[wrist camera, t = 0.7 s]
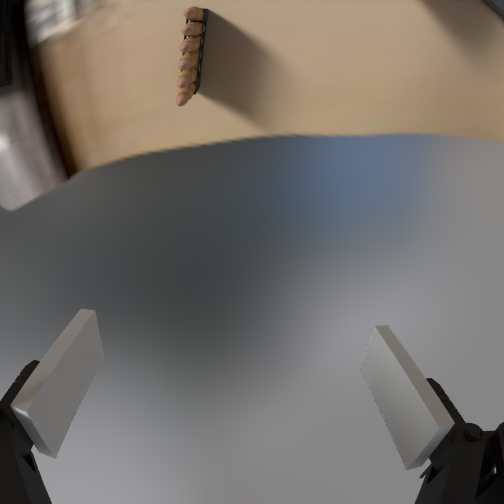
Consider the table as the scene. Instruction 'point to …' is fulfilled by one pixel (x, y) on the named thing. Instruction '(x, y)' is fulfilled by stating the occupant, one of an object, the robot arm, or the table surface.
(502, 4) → the dark grey flat slab
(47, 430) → the robot arm
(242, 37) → the table surface
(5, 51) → the diary
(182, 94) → the ammunition clip
